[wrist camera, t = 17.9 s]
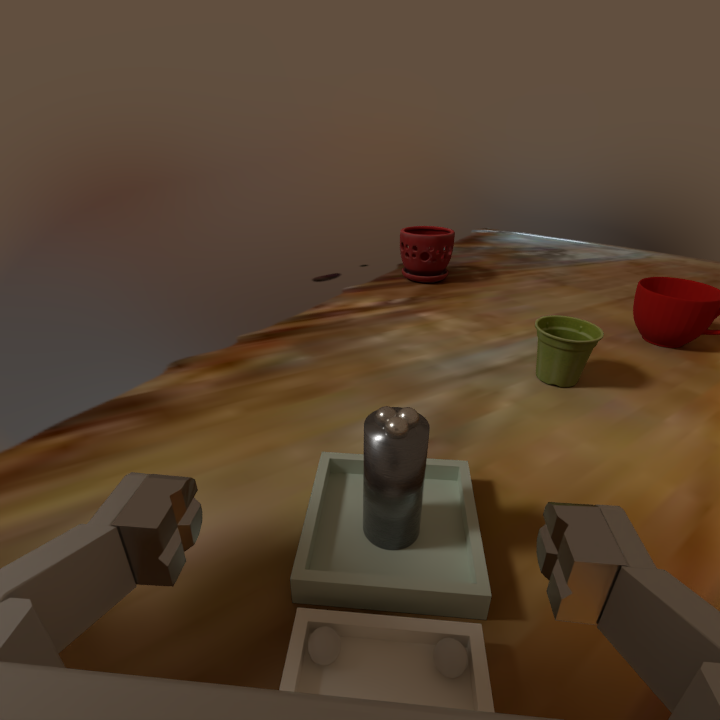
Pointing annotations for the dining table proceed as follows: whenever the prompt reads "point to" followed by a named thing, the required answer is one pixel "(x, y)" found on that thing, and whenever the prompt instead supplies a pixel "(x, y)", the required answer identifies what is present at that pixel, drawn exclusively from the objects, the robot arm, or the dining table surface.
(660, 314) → the ceramic cup
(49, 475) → the dining table surface
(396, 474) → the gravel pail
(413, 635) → the tray
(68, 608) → the robot arm
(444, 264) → the plant pot
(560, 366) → the plant pot
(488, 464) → the dining table surface
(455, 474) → the bin
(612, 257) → the dining table surface
